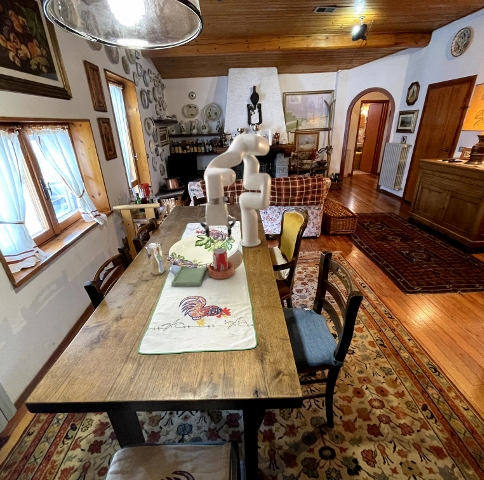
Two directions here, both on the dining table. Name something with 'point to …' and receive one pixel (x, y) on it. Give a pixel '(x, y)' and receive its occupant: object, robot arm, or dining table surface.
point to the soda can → (220, 260)
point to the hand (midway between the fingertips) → (218, 236)
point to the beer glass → (155, 258)
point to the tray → (188, 276)
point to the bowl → (221, 274)
